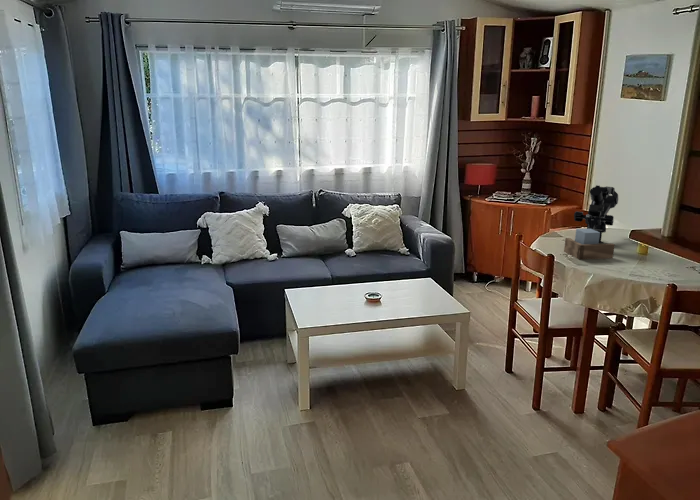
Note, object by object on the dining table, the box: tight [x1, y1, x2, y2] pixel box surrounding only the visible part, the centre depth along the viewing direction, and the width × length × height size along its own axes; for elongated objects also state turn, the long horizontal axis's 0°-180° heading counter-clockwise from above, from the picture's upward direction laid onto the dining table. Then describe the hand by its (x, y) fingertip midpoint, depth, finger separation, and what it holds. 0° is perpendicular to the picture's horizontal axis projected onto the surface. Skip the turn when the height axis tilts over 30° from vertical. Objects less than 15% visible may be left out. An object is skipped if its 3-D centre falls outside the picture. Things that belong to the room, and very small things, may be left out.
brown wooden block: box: [563, 237, 615, 260], centre depth 280 cm, size 14×18×7 cm
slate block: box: [574, 228, 600, 244], centre depth 281 cm, size 8×8×12 cm
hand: (590, 231), depth 288 cm, fingers closed
